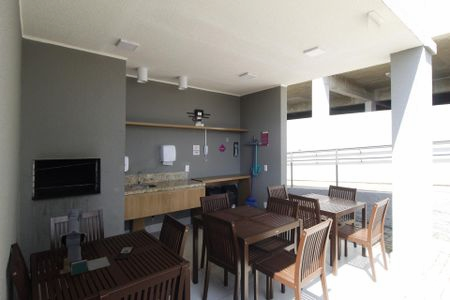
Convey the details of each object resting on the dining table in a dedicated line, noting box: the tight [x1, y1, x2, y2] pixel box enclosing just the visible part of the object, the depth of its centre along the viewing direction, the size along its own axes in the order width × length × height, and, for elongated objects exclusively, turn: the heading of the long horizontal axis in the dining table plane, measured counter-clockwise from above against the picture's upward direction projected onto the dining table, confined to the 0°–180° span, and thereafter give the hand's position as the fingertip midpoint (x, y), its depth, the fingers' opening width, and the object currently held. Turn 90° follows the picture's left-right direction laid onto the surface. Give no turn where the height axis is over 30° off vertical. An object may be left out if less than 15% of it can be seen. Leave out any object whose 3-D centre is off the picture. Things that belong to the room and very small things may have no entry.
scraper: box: [59, 257, 71, 275], centre depth 149 cm, size 4×7×8 cm, turn 126°
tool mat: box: [87, 256, 111, 272], centre depth 158 cm, size 14×12×1 cm
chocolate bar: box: [113, 246, 135, 261], centre depth 174 cm, size 9×1×18 cm
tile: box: [70, 259, 88, 277], centre depth 147 cm, size 2×8×7 cm, turn 126°
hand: (73, 246), depth 146 cm, fingers open, 7 cm apart
